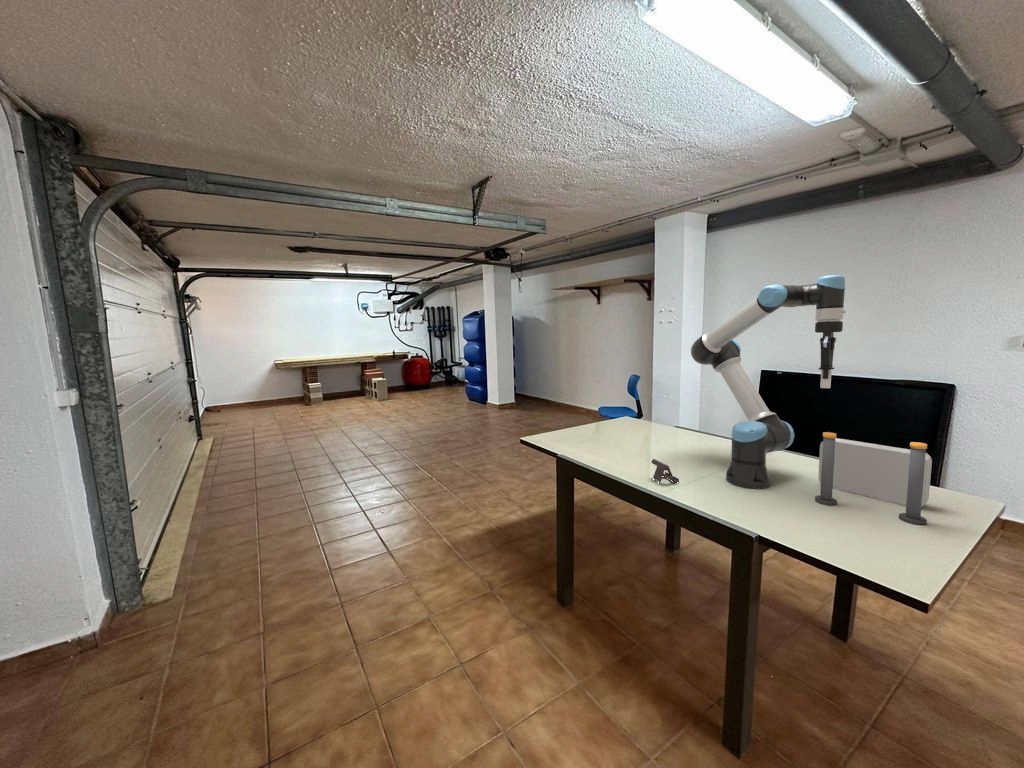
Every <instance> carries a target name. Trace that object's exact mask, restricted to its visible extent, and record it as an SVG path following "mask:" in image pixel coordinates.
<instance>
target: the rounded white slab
mask: <svg viewBox="0 0 1024 768" xmlns="http://www.w3.org/2000/svg"><path fill="white" fill-rule="evenodd" d="M822 453H823V441H821V442H820V445H819V456H818V457H819V459H818V477H817V478H818V482H819V483H820V484H821V471H822ZM909 462H910V448H909V449H908V448H901V447H896V446H895V447H894V446H889V445H882V444H877V443H869V442H864V441H857V440H850V439H844V438H837V437H836V439H835V456H834V473H833V489H834V490H839V491H842V492H843V491H844V492H848V493H852V494H856V495H861V496H864V497H868V498H872V499H877V500H881V501H884V502H885V501H886V502H889V503H893V504H897V505H902V506H905V507H906V502H907V488H908V475H909ZM932 464H933V459H932V457H931V456H930V455H929V454H928V452H926V455H925V467H924V479H923V492H922V504H921V507H924V506H925V504H927V502H928V500H929V498H930V486H931V478H932V477H931V475H932Z"/></svg>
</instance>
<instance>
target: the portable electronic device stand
mask: <svg viewBox="0 0 1024 768" xmlns="http://www.w3.org/2000/svg"><path fill="white" fill-rule="evenodd" d="M651 464H652V465H654V466H656V469H655V472H654V474H653V476H652V479H653V478H654V479H655V481H656V482H657V481H659V482H660V483H661V481H662V479H663V478H664V477H666V478H668V479H670V480H672V481H673V482H674V483H673V482H672V483H673V484H675V483H677V482H679V483H680V480H679V478H678V477H676V476H674V475H673V473H672V472H671V469H670V466H669V465H667V464H666V463H663V462H661V461H659V460H657V459H655V458H653V459H652V460H651ZM662 476H664V477H662ZM666 478H665V479H666ZM668 479H667V480H668ZM670 480H669V481H670Z"/></svg>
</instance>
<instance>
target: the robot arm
mask: <svg viewBox="0 0 1024 768" xmlns="http://www.w3.org/2000/svg"><path fill="white" fill-rule="evenodd" d="M845 291H846V277H845V276H844V275H843V274H834V275H832V274H831V275H822V276H820V277H818V278H817V281H816V283H812V284H802V285H799V284H797V285H793V284H791V285H790V284H786V285H785V284H771V285H767V286H764V287H762V288H761V289H760V292H759V293H758V295H757V297H756V298H755V299H753V300H752V301H751V302H750V303H748V304H747V305H746V306H744V307H742V309H740V310H739V311H738V312H736V313H735V314H733V315H732V316H731V317H729V318H728V319H727V320H725V321H724V322H722V323H721V324H719V326H717V327H716V328H714V329H713V330H711V332H705V333H704V334H702V335H700V336H699V337H698V338H697V339H696V340H695V341H694V342H693V343H692V345H691V347H690V355H691V357H692V359H693V360H694V362H696V363H698V364H700V365H705V366H706V365H707V366H708V365H709V366H710V365H711V367H712V368H713V370H714V371H715V372H717V373H720V374H721V376H722V378H723V380H724V382H725V383H726V385H727V386H728V388H729V390H730V392H731V393H732V395H733V397H734V399H735V400H736V402H737V404H738V405H739V407H740V408H741V410H742V411H743V414H744V415H745V417H746V419H747V420H748V421H740V422H737V423H735V424H734V425H733V426H732V428H731V429H732V430H731V460H730V464H729V466H728V467H727V468H728V469H727V471H726V472H725V480H726V482H728V483H730V484H731V485H734V486H738V487H740V488H741V487H742V488H746V489H747V488H748V489H765V488H769V487H770V486H771V477H770V474H769V471H768V468H767V465H766V464H767V463H766V462H767V454H768V453H769V454H771V453H773V452H780V451H782V450H784V449H787V448H789V447H790V446H791V445H792V444H793V442H794V439H795V432H794V428H793V427H792V425H791V424H790V423H788V422H787V421H784V420H781V419H780V417H779V416H778V414H777V413H775V412H773V411H770V409H769V407H768V406H767V405H766V403H765V401H764V400H763V398H762V396H761V395H760V393H759V392H758V390H757V389H756V387H755V386H754V384H753V382H752V381H751V379H750V378H749V375H748V374H747V371H745V369H744V367H743V366H742V364H741V361H742V357H741V350H742V349H741V346H740V344H739V342H737V340H735V339H736V338H737V337H738V336H740V335H741V334H743V333H744V332H746V331H747V330H749V329H751V327H753V326H755V325H756V324H757V323H759V322H761V321H762V320H763V319H765V318H767V316H769V315H770V314H773V313H774V312H776V311H777V310H778V309H780V308H797V307H806V306H816V308H815V321H816V322H815V323H814V324H815V326H814V332H815V333H817V334H818V333H819V334H821V333H822V337H820V338H819V344H820V366H819V367H818V370H819V371H820V386H819V387H820V389H831V385H832V384H831V383H832V370H835V367H833V363H834V362H833V361H834V352H835V348H836V347H835V344H836V342H837V338H836V337H835V336H834V333H841V332H843V329H844V327H843V326H844V323H843V321H842V320H843V319H844V314H846V313H847V312H846V310H844V305H845V294H846V293H845Z"/></svg>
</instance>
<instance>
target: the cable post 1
mask: <svg viewBox="0 0 1024 768" xmlns="http://www.w3.org/2000/svg"><path fill="white" fill-rule="evenodd" d="M836 438H837V433H835V432H830V431H827V432H825V431H823V432H822V439H823V441H822V442H823V453H822V471H821V483H820V492H819V493H820V494H819V495H816V496H814V501H815V502H816V503H818V504H820V505H824V506H831V507H832V506H837V505H838V500H837V499H836V498H833V489H834V488H833V473H834V456H835V439H836Z"/></svg>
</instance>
